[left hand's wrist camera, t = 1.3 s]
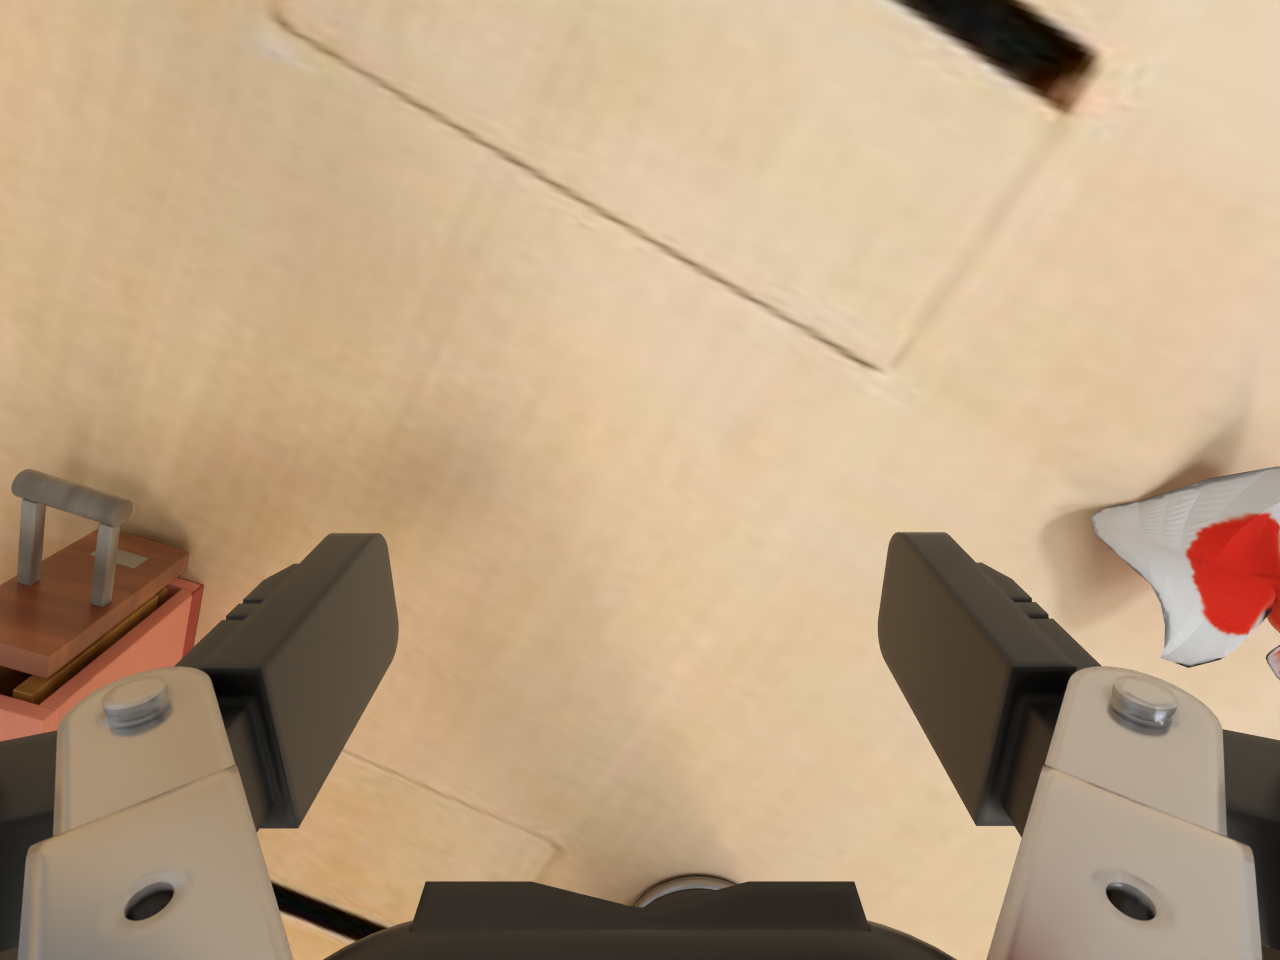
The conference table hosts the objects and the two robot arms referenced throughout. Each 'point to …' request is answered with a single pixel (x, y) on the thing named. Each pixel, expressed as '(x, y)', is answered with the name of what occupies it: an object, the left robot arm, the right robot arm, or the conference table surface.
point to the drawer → (75, 587)
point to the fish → (1206, 560)
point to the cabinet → (114, 662)
